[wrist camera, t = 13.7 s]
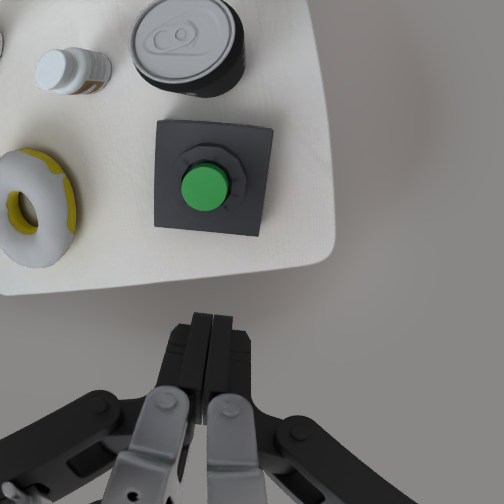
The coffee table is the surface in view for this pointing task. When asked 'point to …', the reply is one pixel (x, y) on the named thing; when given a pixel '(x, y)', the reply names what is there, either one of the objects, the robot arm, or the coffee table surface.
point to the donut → (46, 206)
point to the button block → (223, 155)
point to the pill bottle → (72, 71)
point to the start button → (205, 187)
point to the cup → (1, 43)
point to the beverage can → (189, 46)
